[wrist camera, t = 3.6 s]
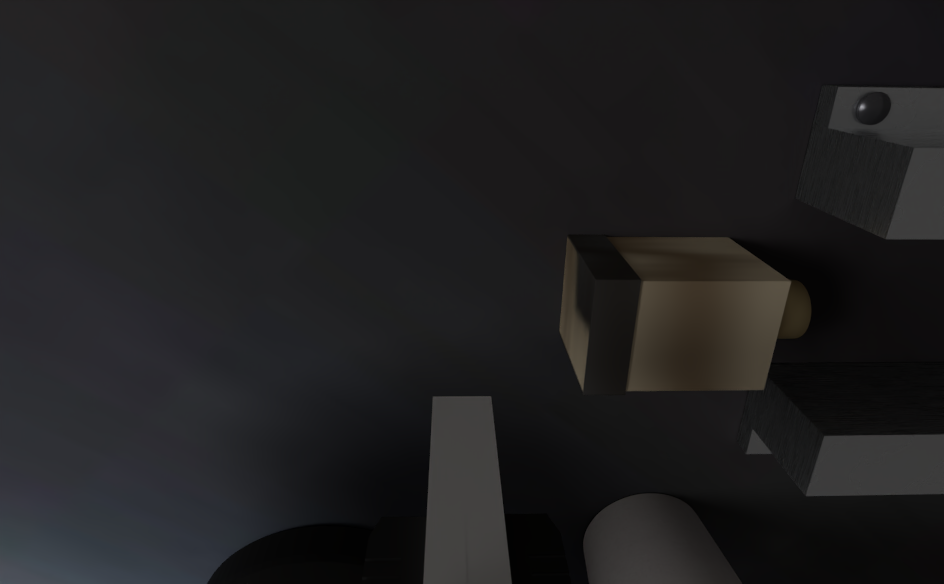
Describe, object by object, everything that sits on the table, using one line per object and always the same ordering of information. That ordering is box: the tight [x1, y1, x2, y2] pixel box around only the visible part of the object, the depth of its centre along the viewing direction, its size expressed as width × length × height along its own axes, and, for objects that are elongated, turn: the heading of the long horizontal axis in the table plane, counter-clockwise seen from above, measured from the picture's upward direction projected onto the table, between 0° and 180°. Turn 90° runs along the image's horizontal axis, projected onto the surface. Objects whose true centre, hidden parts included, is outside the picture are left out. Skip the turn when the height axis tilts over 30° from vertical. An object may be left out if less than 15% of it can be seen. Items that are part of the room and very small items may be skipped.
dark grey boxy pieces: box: [737, 85, 944, 496], centre depth 24 cm, size 10×17×6 cm, turn 179°
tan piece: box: [559, 235, 811, 395], centre depth 24 cm, size 9×5×5 cm, turn 89°
